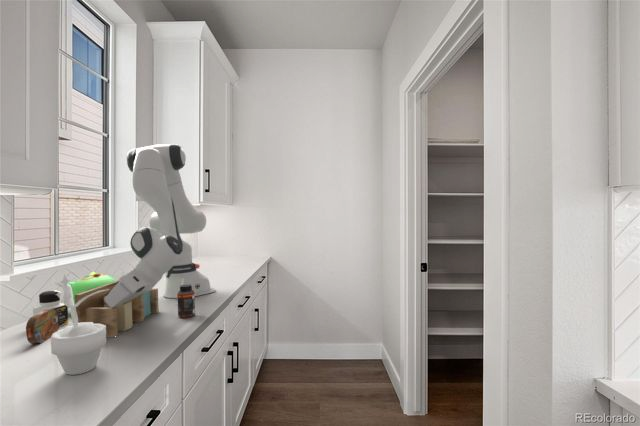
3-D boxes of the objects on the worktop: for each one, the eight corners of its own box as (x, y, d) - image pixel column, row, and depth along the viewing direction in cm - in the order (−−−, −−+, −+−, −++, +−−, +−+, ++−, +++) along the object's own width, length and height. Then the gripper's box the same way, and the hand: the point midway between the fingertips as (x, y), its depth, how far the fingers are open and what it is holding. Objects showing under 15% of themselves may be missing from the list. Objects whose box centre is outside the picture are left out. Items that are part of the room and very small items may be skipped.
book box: (132, 326, 124) (131, 294, 124) (125, 330, 120) (124, 297, 120) (112, 326, 125) (111, 294, 124) (104, 330, 121) (103, 297, 120)
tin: (36, 347, 107) (35, 318, 107) (24, 348, 107) (22, 319, 106) (61, 330, 122) (60, 305, 122) (50, 331, 121) (49, 305, 121)
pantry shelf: (158, 311, 141) (157, 275, 141) (109, 340, 111) (107, 294, 111) (132, 311, 142) (130, 275, 141) (76, 340, 112) (74, 294, 111)
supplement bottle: (198, 314, 135) (197, 284, 135) (184, 319, 130) (183, 287, 130) (188, 312, 139) (187, 282, 139) (174, 316, 134) (173, 286, 134)
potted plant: (42, 384, 84) (37, 275, 83) (64, 363, 95) (61, 267, 95) (103, 376, 87) (99, 271, 86) (118, 357, 98) (115, 264, 98)
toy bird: (91, 317, 136) (90, 277, 136) (56, 314, 141) (54, 276, 140) (128, 304, 154) (127, 269, 153) (96, 302, 158) (95, 268, 158)
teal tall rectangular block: (150, 313, 139) (149, 279, 138) (140, 319, 132) (139, 283, 131) (134, 313, 139) (133, 279, 139) (123, 319, 132) (121, 283, 132)
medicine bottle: (48, 330, 122) (46, 294, 122) (33, 328, 125) (31, 293, 124) (68, 323, 129) (67, 289, 129) (54, 321, 131) (53, 288, 131)
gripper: (152, 265, 132) (127, 293, 133) (118, 277, 111) (88, 309, 112) (165, 278, 132) (140, 305, 132) (133, 291, 111) (103, 323, 112)
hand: (116, 307), depth 122 cm, fingers open, 8 cm apart
